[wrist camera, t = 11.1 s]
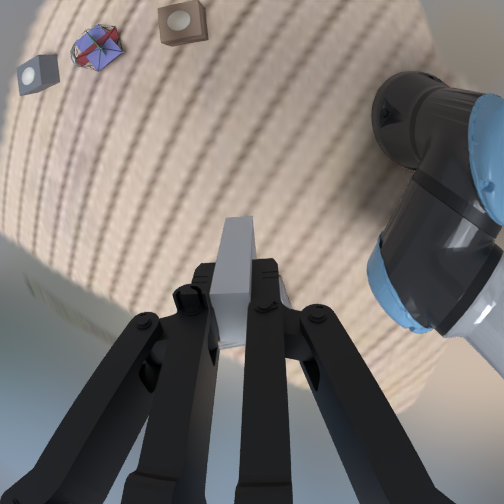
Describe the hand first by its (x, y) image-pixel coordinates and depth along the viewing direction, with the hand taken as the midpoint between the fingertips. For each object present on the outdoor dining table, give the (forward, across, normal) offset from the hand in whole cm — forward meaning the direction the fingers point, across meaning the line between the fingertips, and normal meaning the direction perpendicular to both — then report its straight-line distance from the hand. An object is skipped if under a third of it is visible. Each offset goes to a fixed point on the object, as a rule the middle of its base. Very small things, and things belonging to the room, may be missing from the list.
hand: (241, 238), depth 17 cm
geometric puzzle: (+27, +19, -18) cm, 37 cm away
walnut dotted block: (+27, +7, -18) cm, 33 cm away
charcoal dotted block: (+27, +31, -18) cm, 45 cm away
